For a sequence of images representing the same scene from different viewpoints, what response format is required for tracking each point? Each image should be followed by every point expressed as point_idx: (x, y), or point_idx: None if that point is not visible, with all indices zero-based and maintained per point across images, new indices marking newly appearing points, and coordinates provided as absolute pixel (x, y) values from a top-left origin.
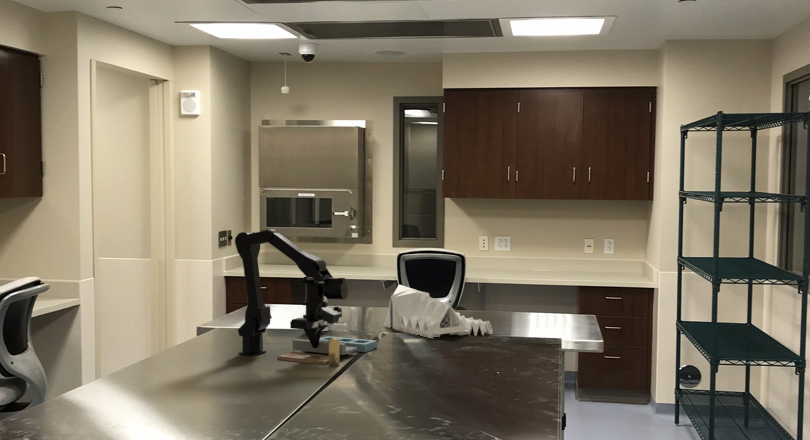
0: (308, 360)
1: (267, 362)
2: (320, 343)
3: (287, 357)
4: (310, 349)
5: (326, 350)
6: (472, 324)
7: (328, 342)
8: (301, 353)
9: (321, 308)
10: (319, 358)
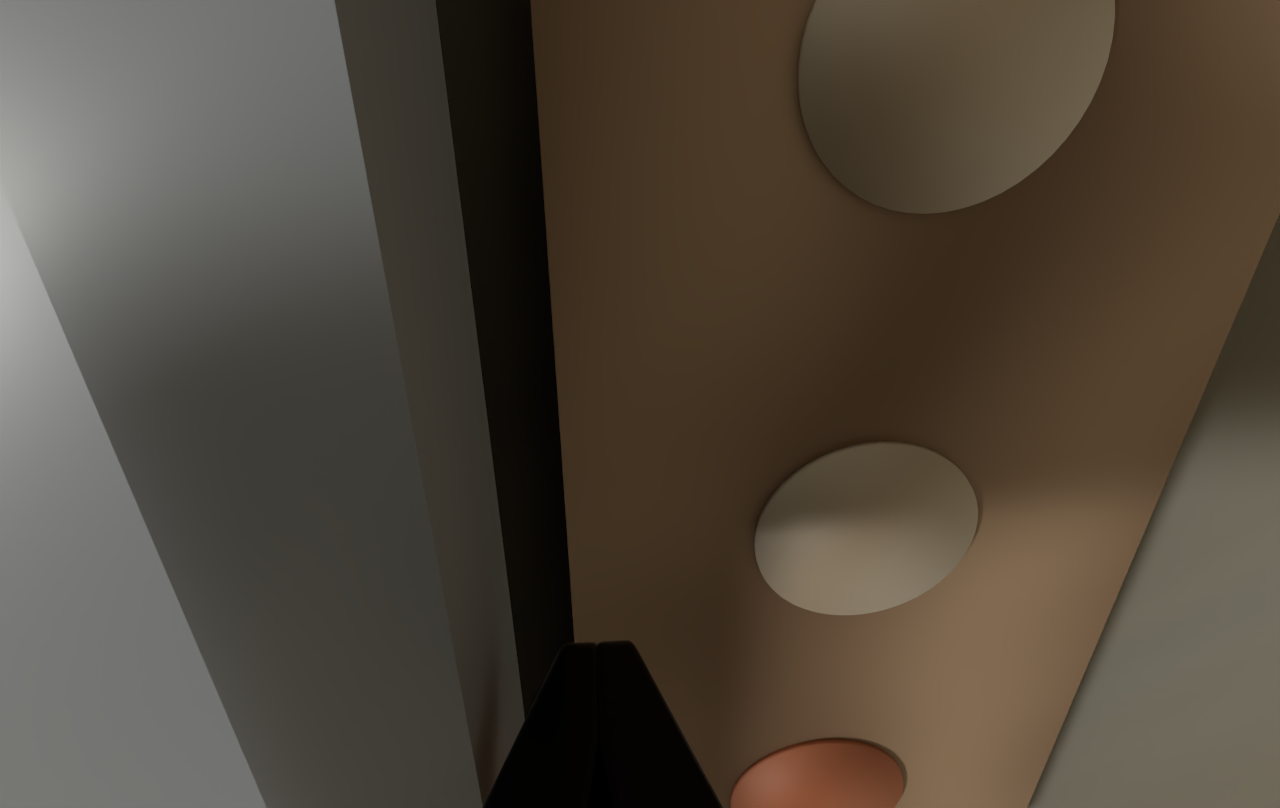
0: (1210, 328)
1: (1214, 801)
2: (467, 694)
3: (1050, 742)
4: None
5: (463, 368)
6: None
7: (256, 540)
8: None
9: None
10: (1055, 162)
